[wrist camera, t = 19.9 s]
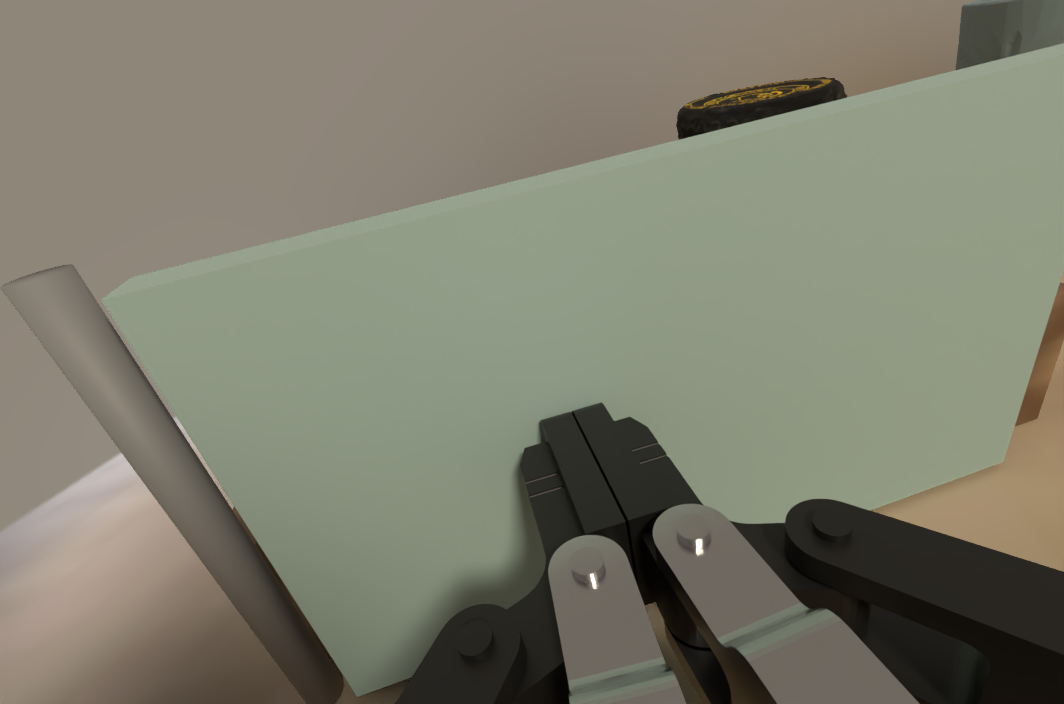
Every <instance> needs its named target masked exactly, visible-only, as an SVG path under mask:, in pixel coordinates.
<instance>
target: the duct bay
mask: <svg viewBox="0 0 1064 704" xmlns="http://www.w3.org/2000/svg"><path fill="white" fill-rule="evenodd" d="M1063 340H1064V283H1060V284H1059V287H1058V290H1057V294H1056V297H1055V300H1054V303H1053V306H1052V310H1051V313H1050V316H1049V319H1048V322H1047V325H1046V329H1045V332H1044V335H1043V338H1042V341H1041V344H1040V348H1039V351H1038V354H1037V357H1036V360H1035V364H1034V367H1033V370H1032V373H1031V376H1030V379H1029V383H1028V386H1027V389H1026V392H1025V395H1024V398H1023V402H1022V405H1021V408H1020V411H1019V414H1018V418H1017V421H1016V424H1015V426H1017V425H1020V424H1023V423H1025V422H1028V421H1031V420H1034V419H1037V417H1038V415H1039V412H1040V409H1041V406H1042V403H1043V400H1044V397H1045V394H1046V391H1047V388H1048V385H1049V382H1050V379H1051V376H1052V373H1053V370H1054V367H1055V364H1056V361H1057V358H1058V355H1059V352H1060V349H1061V346H1062V343H1063ZM233 512H234V514H235V515H236V517H237V518H238V520H239V521H240V523H241V524H242V526H243V527H244V529H245V530H246V532H247V534H248V535H249V537H250V538H251V540H252V541H253V543H254V544H255V546H256V547H257V549H258V550H259V552H260V554H261V555H262V557H263V558H264V560H265V561H266V563H267V564H268V566H269V567H270V569H271V570H272V572H273V574H274V575H275V577H276V578H277V580H278V581H279V583H280V584H281V586H282V587H283V589H284V590H285V592H286V594H287V595H288V597H289V598H290V600H291V601H292V603H293V604H294V606H295V607H296V609H297V611H298V612H299V614H300V615H301V617H302V618H303V620H304V621H305V623H306V624H307V626H308V627H309V629H310V631H311V632H312V634H313V635H314V637H315V638H316V640H317V641H318V643H319V644H320V646H321V647H322V649H323V651H324V652H325V654H326V655H327V657H328V658H329V656H330V654H329V653H328V651H327V649H326V648H325V646H324V645H323V643H322V642H321V640H320V639H319V637H318V635H317V634H316V632H315V631H314V629H313V628H312V626H311V625H310V623H309V621H308V620H307V618H306V617H305V615H304V614H303V612H302V611H301V609H300V608H299V606H298V604H297V603H296V601H295V600H294V598H293V597H292V595H291V594H290V592H289V590H288V589H287V587H286V586H285V584H284V583H283V581H282V580H281V578H280V576H279V575H278V573H277V572H276V570H275V569H274V567H273V566H272V564H271V562H270V561H269V559H268V558H267V556H266V555H265V553H264V552H263V550H262V548H261V547H260V545H259V544H258V542H257V541H256V539H255V538H254V536H253V534H252V533H251V531H250V530H249V528H248V527H247V525H246V524H245V522H244V521H243V519H242V517H241V516H240V514H239V513H238V511H237V510H236V508H235V507H234V508H233Z"/></svg>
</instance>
